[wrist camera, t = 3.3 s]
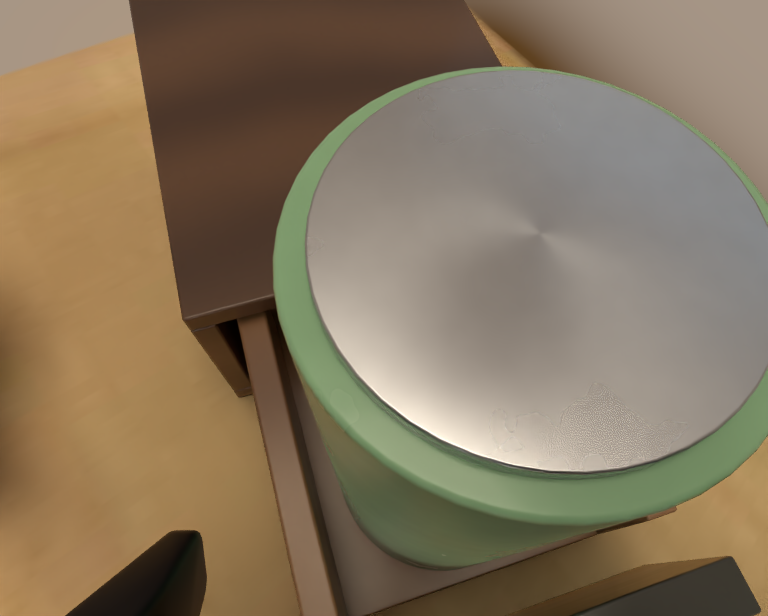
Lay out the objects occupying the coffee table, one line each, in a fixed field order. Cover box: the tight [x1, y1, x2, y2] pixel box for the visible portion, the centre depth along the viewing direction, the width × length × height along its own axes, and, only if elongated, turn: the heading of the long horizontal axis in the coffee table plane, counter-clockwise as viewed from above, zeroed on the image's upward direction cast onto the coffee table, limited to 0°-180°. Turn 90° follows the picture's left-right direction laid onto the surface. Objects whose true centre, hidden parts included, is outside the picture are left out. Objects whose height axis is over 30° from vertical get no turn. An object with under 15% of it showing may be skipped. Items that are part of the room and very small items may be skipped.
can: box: [273, 67, 768, 571], centre depth 12 cm, size 6×6×12 cm
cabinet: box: [129, 0, 502, 397], centre depth 21 cm, size 13×11×6 cm
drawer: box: [237, 308, 761, 616], centre depth 16 cm, size 14×10×5 cm
